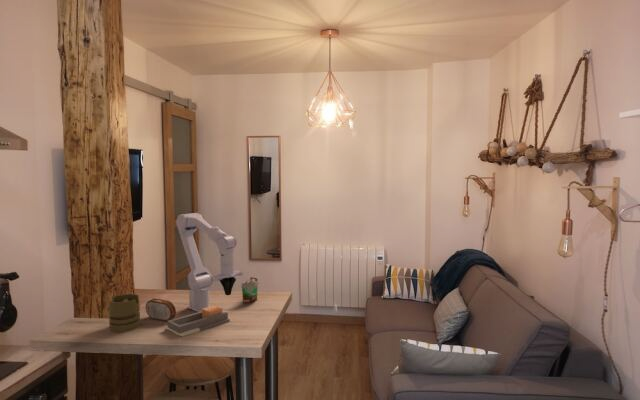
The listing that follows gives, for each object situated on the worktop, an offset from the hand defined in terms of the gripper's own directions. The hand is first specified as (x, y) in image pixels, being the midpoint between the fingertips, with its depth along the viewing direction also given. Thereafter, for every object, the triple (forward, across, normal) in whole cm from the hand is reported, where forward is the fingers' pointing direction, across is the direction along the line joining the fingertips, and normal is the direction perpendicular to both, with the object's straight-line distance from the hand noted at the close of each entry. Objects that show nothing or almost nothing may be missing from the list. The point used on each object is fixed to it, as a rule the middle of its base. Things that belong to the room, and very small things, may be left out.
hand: (227, 294), depth 183 cm
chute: (+9, -14, 0) cm, 17 cm away
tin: (+10, -22, +18) cm, 30 cm away
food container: (+10, +20, +9) cm, 24 cm away
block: (+8, -8, 0) cm, 11 cm away
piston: (+10, -36, +20) cm, 42 cm away
